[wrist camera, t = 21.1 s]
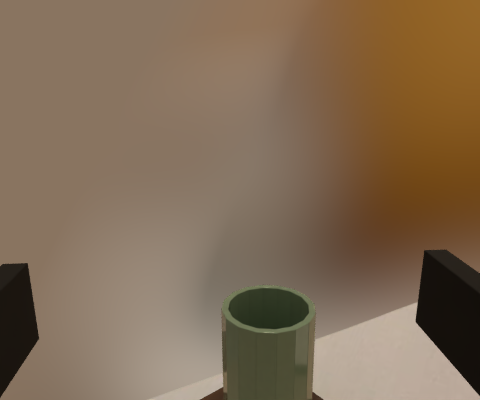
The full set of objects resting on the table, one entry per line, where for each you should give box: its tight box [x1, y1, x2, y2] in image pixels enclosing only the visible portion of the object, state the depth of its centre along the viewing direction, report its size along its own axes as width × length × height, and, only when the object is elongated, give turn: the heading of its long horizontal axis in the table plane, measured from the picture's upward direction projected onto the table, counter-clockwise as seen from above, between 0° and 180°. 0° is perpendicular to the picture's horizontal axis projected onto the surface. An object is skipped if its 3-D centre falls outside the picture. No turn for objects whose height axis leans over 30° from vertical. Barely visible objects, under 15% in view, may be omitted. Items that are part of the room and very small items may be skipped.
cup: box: [222, 285, 316, 400], centre depth 33 cm, size 7×7×10 cm
